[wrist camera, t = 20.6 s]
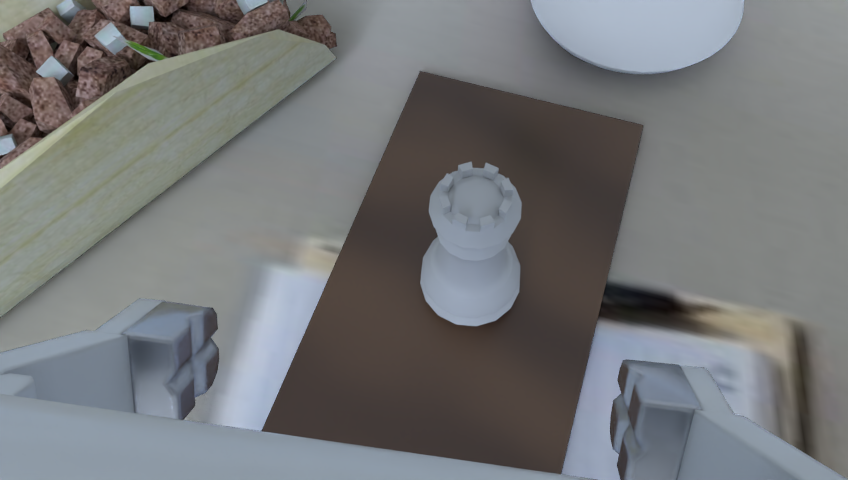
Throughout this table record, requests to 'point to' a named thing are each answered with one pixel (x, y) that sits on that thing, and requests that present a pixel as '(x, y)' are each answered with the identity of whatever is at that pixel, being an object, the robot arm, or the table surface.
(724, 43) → the flower in vase
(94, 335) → the robot arm
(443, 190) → the rook chess piece
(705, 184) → the table surface
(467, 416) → the brown wooden board
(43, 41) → the taco
